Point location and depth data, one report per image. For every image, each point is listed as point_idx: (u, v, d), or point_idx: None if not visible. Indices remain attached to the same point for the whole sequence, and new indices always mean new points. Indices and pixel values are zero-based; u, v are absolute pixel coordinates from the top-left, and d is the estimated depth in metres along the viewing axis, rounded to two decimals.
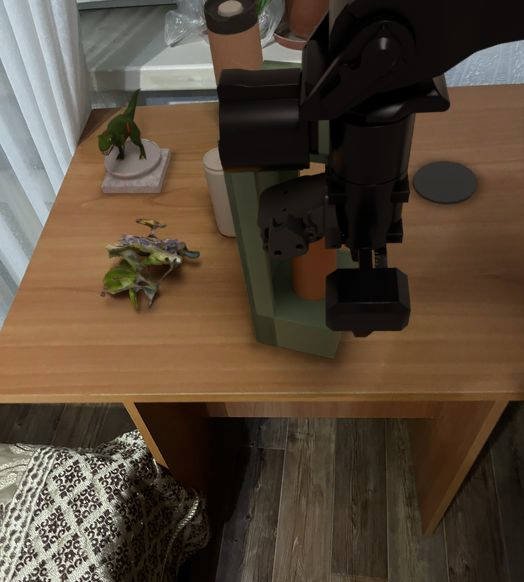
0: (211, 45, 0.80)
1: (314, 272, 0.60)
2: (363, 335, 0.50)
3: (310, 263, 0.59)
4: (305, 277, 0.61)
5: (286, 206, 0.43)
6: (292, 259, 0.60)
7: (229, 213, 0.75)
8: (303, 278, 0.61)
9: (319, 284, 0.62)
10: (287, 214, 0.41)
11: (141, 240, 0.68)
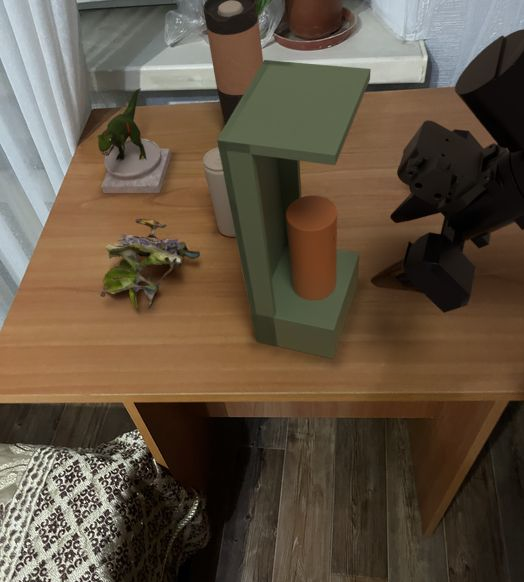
0: (211, 45, 0.80)
1: (314, 272, 0.60)
2: (378, 285, 0.54)
3: (310, 263, 0.59)
4: (305, 277, 0.61)
5: (445, 153, 0.45)
6: (292, 259, 0.60)
7: (229, 213, 0.75)
8: (303, 278, 0.61)
9: (319, 284, 0.62)
10: (454, 165, 0.44)
11: (141, 240, 0.68)
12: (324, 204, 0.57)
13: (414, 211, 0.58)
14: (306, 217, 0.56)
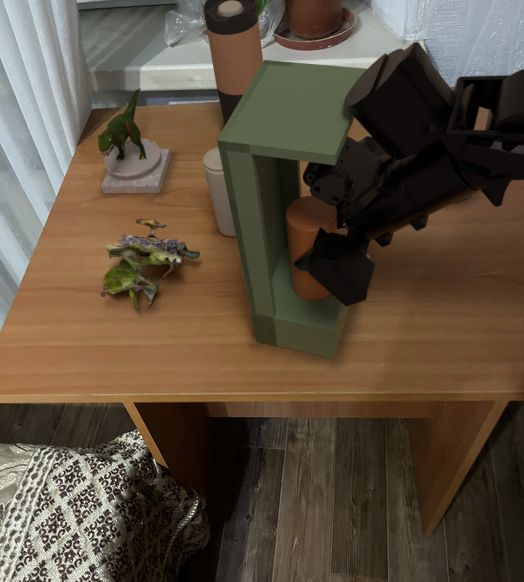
0: (211, 45, 0.80)
1: None
2: (300, 268, 0.59)
3: None
4: (305, 277, 0.61)
5: (344, 160, 0.49)
6: (292, 259, 0.60)
7: (229, 213, 0.75)
8: (303, 278, 0.61)
9: (319, 284, 0.62)
10: (348, 170, 0.47)
11: (141, 240, 0.68)
12: (324, 204, 0.57)
13: None
14: (306, 217, 0.56)
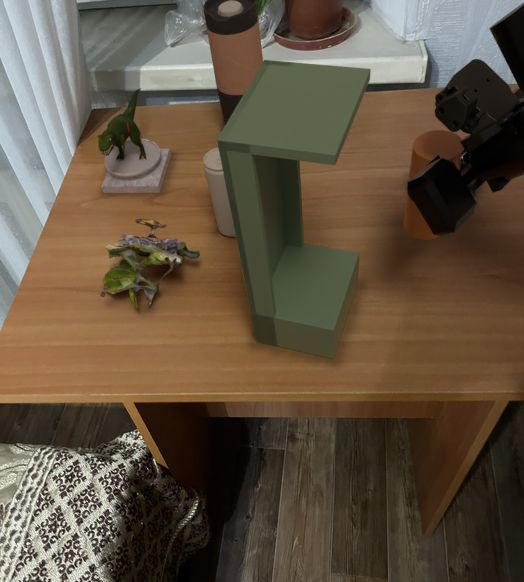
0: (211, 45, 0.80)
1: None
2: None
3: None
4: (415, 210, 0.63)
5: (479, 90, 0.50)
6: None
7: (229, 213, 0.75)
8: (413, 211, 0.63)
9: None
10: (476, 98, 0.48)
11: (141, 240, 0.68)
12: (454, 141, 0.58)
13: None
14: (432, 147, 0.58)
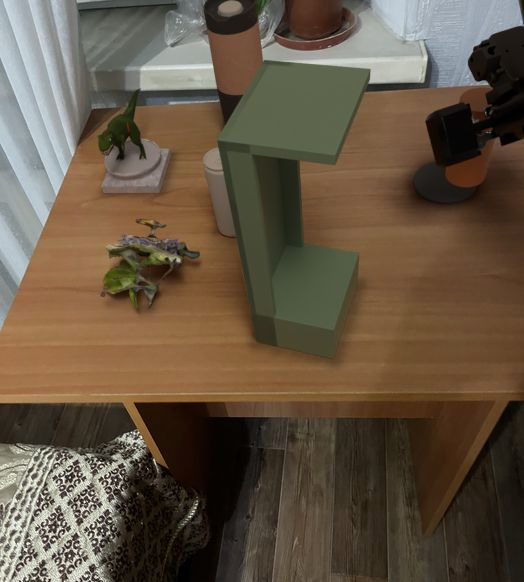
0: (211, 45, 0.80)
1: None
2: None
3: None
4: None
5: (510, 51, 0.59)
6: None
7: (229, 213, 0.75)
8: None
9: (459, 169, 0.72)
10: (499, 55, 0.57)
11: (141, 240, 0.68)
12: None
13: None
14: (475, 99, 0.67)
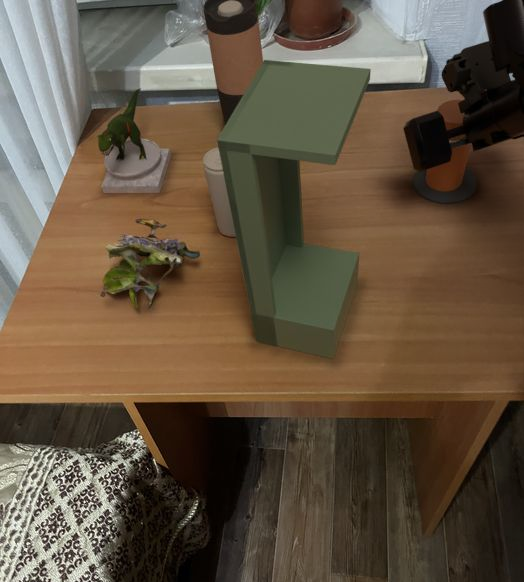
0: (211, 45, 0.80)
1: None
2: None
3: None
4: None
5: (479, 64, 0.64)
6: None
7: (229, 213, 0.75)
8: None
9: (437, 174, 0.78)
10: (469, 68, 0.63)
11: (141, 240, 0.68)
12: None
13: None
14: (451, 111, 0.72)
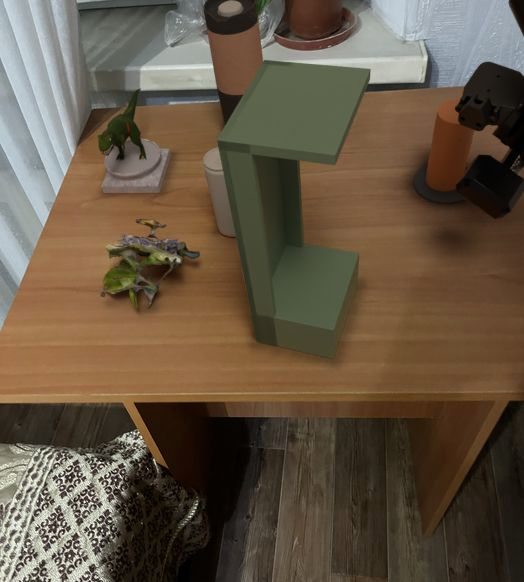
0: (211, 45, 0.80)
1: (436, 160, 0.76)
2: (469, 200, 0.67)
3: (436, 150, 0.75)
4: (431, 161, 0.78)
5: (491, 88, 0.57)
6: (431, 144, 0.77)
7: (229, 213, 0.75)
8: (430, 163, 0.78)
9: (437, 174, 0.78)
10: (488, 98, 0.55)
11: (141, 240, 0.68)
12: None
13: None
14: (451, 111, 0.72)
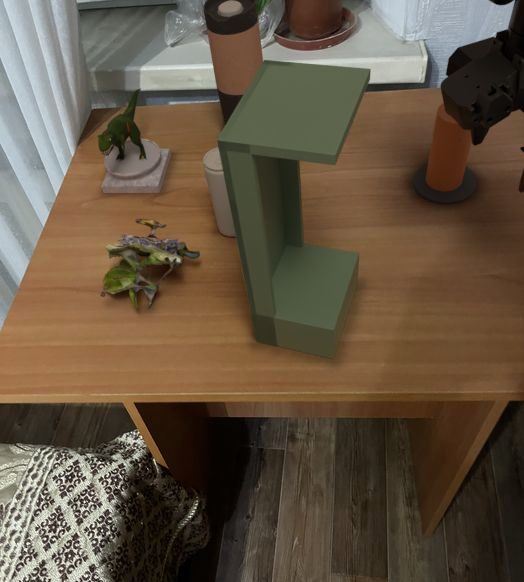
0: (211, 45, 0.80)
1: (436, 160, 0.76)
2: None
3: (436, 150, 0.75)
4: (431, 161, 0.78)
5: (477, 84, 0.52)
6: (431, 144, 0.77)
7: (229, 213, 0.75)
8: (430, 163, 0.78)
9: (437, 174, 0.78)
10: (494, 84, 0.50)
11: (141, 240, 0.68)
12: None
13: None
14: None
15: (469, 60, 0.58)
